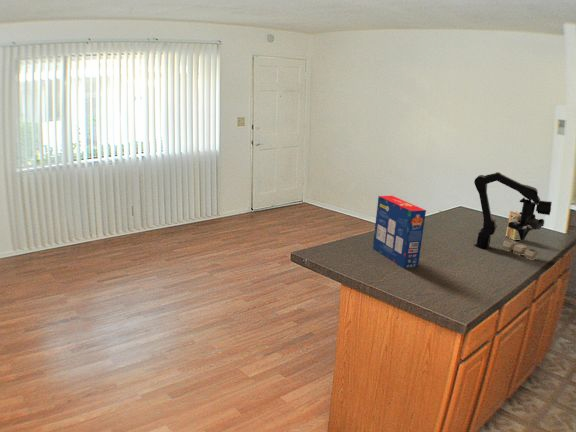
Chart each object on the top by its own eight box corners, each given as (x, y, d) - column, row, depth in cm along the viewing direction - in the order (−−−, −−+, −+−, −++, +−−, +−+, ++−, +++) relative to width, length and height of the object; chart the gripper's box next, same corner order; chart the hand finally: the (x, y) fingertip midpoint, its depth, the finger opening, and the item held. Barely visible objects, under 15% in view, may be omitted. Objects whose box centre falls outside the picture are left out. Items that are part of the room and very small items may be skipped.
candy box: (520, 241, 292) (525, 215, 288) (513, 241, 292) (518, 215, 288) (511, 236, 301) (516, 211, 297) (504, 236, 300) (509, 211, 296)
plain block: (519, 256, 267) (521, 248, 266) (512, 253, 271) (514, 245, 270) (525, 255, 269) (527, 247, 268) (518, 252, 273) (520, 244, 272)
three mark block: (531, 260, 261) (533, 252, 260) (523, 257, 265) (525, 249, 264) (537, 259, 263) (539, 251, 262) (529, 256, 267) (531, 248, 266)
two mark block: (509, 251, 273) (510, 243, 272) (502, 248, 277) (503, 240, 276) (514, 250, 275) (516, 242, 274) (508, 248, 279) (509, 240, 278)
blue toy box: (417, 267, 242) (425, 210, 234) (403, 268, 239) (411, 211, 231) (385, 247, 267) (392, 195, 259) (372, 248, 264) (378, 196, 256)
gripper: (528, 217, 253) (522, 246, 257) (553, 214, 261) (547, 243, 265) (510, 211, 262) (504, 240, 266) (535, 209, 270) (529, 237, 275)
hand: (522, 240), depth 268 cm, fingers closed
